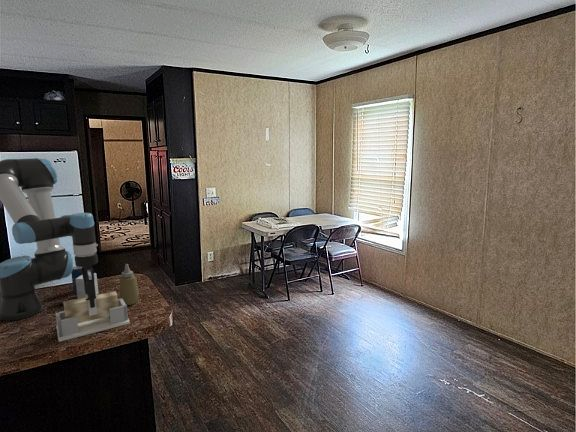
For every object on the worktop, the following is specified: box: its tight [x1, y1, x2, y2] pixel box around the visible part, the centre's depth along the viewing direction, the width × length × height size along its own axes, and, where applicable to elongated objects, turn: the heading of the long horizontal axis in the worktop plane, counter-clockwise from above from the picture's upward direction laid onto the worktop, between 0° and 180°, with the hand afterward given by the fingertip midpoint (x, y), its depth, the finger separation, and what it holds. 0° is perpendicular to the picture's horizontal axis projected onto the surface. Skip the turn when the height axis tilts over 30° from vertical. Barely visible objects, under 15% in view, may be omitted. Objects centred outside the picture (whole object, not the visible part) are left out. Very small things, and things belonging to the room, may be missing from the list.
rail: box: [62, 291, 119, 323], centre depth 140 cm, size 18×4×8 cm, turn 124°
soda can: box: [70, 265, 82, 294], centre depth 176 cm, size 7×7×12 cm
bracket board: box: [55, 298, 131, 343], centre depth 141 cm, size 24×12×7 cm, turn 125°
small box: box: [75, 272, 99, 299], centre depth 169 cm, size 8×6×10 cm
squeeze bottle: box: [119, 263, 140, 306], centre depth 161 cm, size 8×8×18 cm
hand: (92, 312), depth 140 cm, fingers closed on rail, 5 cm apart
